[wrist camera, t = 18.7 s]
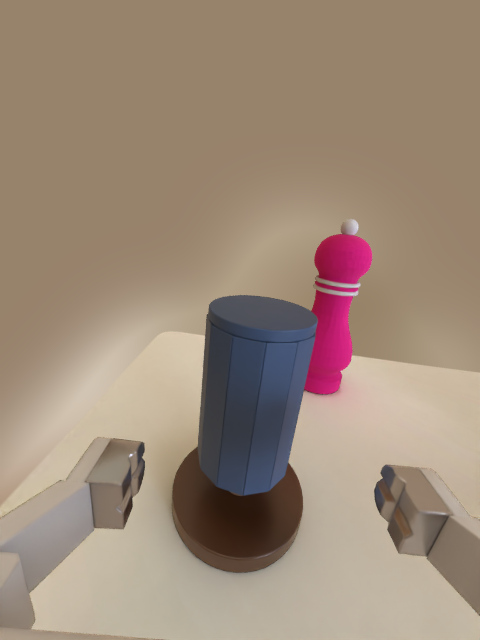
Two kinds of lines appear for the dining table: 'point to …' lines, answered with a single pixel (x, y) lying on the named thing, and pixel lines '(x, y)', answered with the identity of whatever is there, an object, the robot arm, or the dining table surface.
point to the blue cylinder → (252, 389)
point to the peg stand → (235, 519)
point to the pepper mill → (335, 305)
